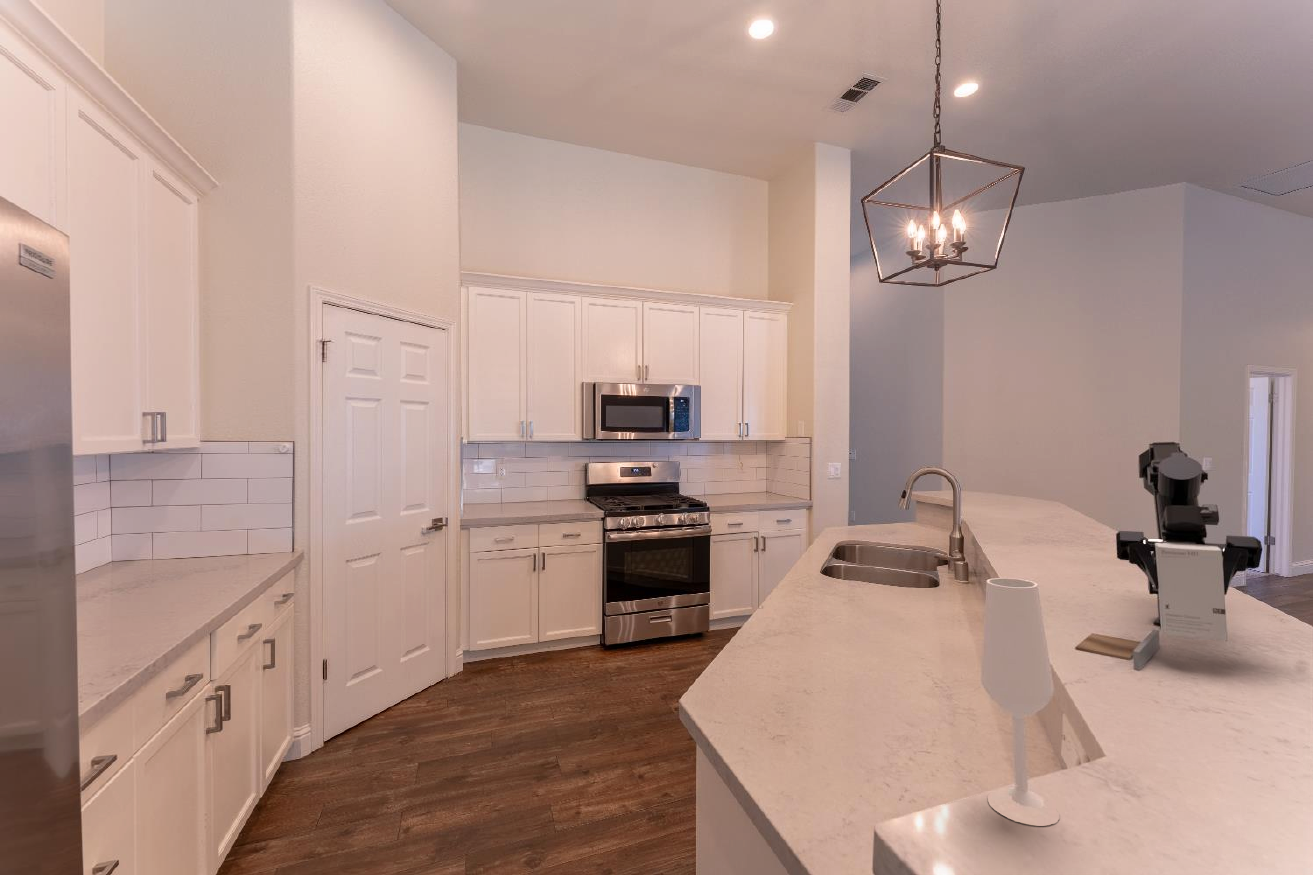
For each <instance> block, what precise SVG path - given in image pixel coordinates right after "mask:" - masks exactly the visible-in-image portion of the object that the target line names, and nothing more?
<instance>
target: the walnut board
mask: <svg viewBox="0 0 1313 875" xmlns="http://www.w3.org/2000/svg"><path fill="white" fill-rule="evenodd" d="M1141 642H1142V641H1138V640H1132V639H1127V638H1120V637H1114V636H1110V635H1103V634H1098V633H1090V634H1089V635H1088V636H1087V637H1086V638H1085V639H1083V640H1082V641H1080V643H1078V644H1077V645H1076V646H1075V647H1074V649H1075V650H1078V651H1083V652H1087V653H1088V652H1089V653H1093V654H1099V655H1103V656H1108V657H1113V658H1119V659H1123V660H1128V661H1130V660H1131V659H1133V651H1134V650H1135V648H1136V647H1137V646H1138V645H1139V644H1140V643H1141Z"/></svg>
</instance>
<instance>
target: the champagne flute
mask: <svg viewBox="0 0 1313 875" xmlns="http://www.w3.org/2000/svg"><path fill="white" fill-rule="evenodd" d="M985 586H986V587H985V588H986V589H985V601H984V602H985V603H984V604H985V606H984V621H983V622H984V623H983V639H982V656H981V674H980V675H981V676H980V681H981V685H982V687H983V688H984V690H985V692H986V693H987V694H988V696H989V697H990V698H991V700H993V702H995V703H996V704H997V705H998V707H999V708H1001V709H1002V710H1003V711H1004V712H1005V713H1007V714H1009V715H1010V716H1011V727H1012V730H1011V731H1012V747H1013V765H1014V767H1013V768H1014V769H1013V770H1014V786H1012V788H1010V787H1008V788H1009V791H1006V792H1005V793H1004V794H1007V795H1010V796H1012V800H1013V801H1015V802H1016V803H1019V804H1020V805H1023V806H1027V807H1028V806H1030V807H1033V808H1041V807H1043V806H1044V803H1043V801H1044V800H1043V799H1044V798H1043V797H1041V796H1040V797H1039V795H1038V794H1037V793H1035V792H1033V791H1031V790H1029V785H1028V784H1029V781H1028V780H1029V779H1028V764H1027V763H1028V761H1027V759H1028V758H1027V744H1026V743H1027V740H1026V725H1025V724H1026V722H1025V721H1026V719H1025V718H1029V717H1031V716H1033V715H1034V714H1036V713H1037V712H1039V711H1041V710H1042V709H1044V708H1045V707H1046V706H1047V705H1048V704H1049V703H1050V701H1051V700H1052V698H1053V696H1054V694H1055V693H1054V692H1055V686H1054V682H1053V674H1052V669H1051V662H1050V655H1049V650H1048V643H1047V636H1046V631H1045V623H1044V618H1043V612H1042V605H1041V598H1040V597H1041V596H1040V593H1039V592H1040V591H1039V585H1038V583H1036V582H1035V581H1031V580H1026V579H1021V578H1013V577H995V578H989V579H986V585H985ZM1015 785H1017V786H1015ZM1006 790H1007V789H1006ZM1003 791H1005V790H1003ZM1042 798H1043V799H1042Z"/></svg>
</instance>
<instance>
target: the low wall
mask: <svg viewBox="0 0 1313 875" xmlns="http://www.w3.org/2000/svg"><path fill="white" fill-rule="evenodd" d="M1140 642H1141V643H1140V644H1139V645H1138V646H1137V647H1136V648H1135V650H1134V651H1133V657H1132V660H1133V670H1136V671H1141V670H1142V669H1143V668H1144V666H1145V665H1146V664H1147V663H1148V661H1149V660H1150V659H1151V658H1152V657H1153V656H1154V654H1155V653H1156V652H1157V651H1158V650H1159V649H1160V647H1161V640H1160V630H1159V629H1154V628H1153V629H1152V630H1151V632H1150V633H1149V634H1147V635H1146V637H1145V638H1143V640H1142V641H1140Z"/></svg>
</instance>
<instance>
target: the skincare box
mask: <svg viewBox="0 0 1313 875" xmlns="http://www.w3.org/2000/svg"><path fill="white" fill-rule="evenodd" d="M1155 550H1156V563H1157V577H1158V586H1159V587H1158V592H1159V608H1160V624H1161V625H1160V628H1161V633H1162V634H1163V636H1169V637H1180V638H1189V639H1190V638H1192V639H1200V640H1201V639H1203V640H1214V641H1219V642H1220V641H1221V642H1227V641H1228V628H1227V614H1226V613H1227V611H1226V609H1227V608H1226V599H1225V598H1226V597H1225V596H1226V595H1225V594H1224V576H1223V563H1222V560H1223V557H1222V551H1221V549H1220V548H1219V547H1217V546H1215V545H1199V544H1183V543H1155Z"/></svg>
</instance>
